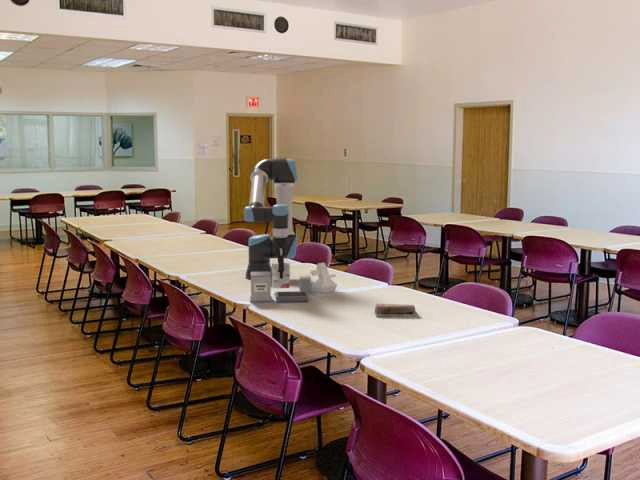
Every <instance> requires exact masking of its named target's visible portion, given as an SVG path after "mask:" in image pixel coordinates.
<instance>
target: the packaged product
mask: <svg viewBox="0 0 640 480" xmlns="http://www.w3.org/2000/svg"><path fill="white" fill-rule="evenodd" d="M374 315H375V318H391V317H418V318H419V313H418V312H417V310H416V307H415V305H414V304H402V303H401V304H398V303H397V304H395V303H394V304H393V303H392V304H391V303H377V304H375V306H374Z"/></svg>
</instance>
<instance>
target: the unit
mask: <svg viewBox="0 0 640 480" xmlns="http://www.w3.org/2000/svg"><path fill="white" fill-rule="evenodd" d="M271 288H272V278H271V273H270V272H251V279H250V296H249V303H250V302H261V303H272V302H273V300H272V292H271V291H272V289H271Z"/></svg>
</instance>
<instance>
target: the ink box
mask: <svg viewBox="0 0 640 480" xmlns="http://www.w3.org/2000/svg"><path fill="white" fill-rule="evenodd" d="M271 268H272V278H271V288H272V289H289V288H290V287H291V263H290V262H284V285H278V272H277V271H278V270H279V265H278V262H272V263H271Z"/></svg>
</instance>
